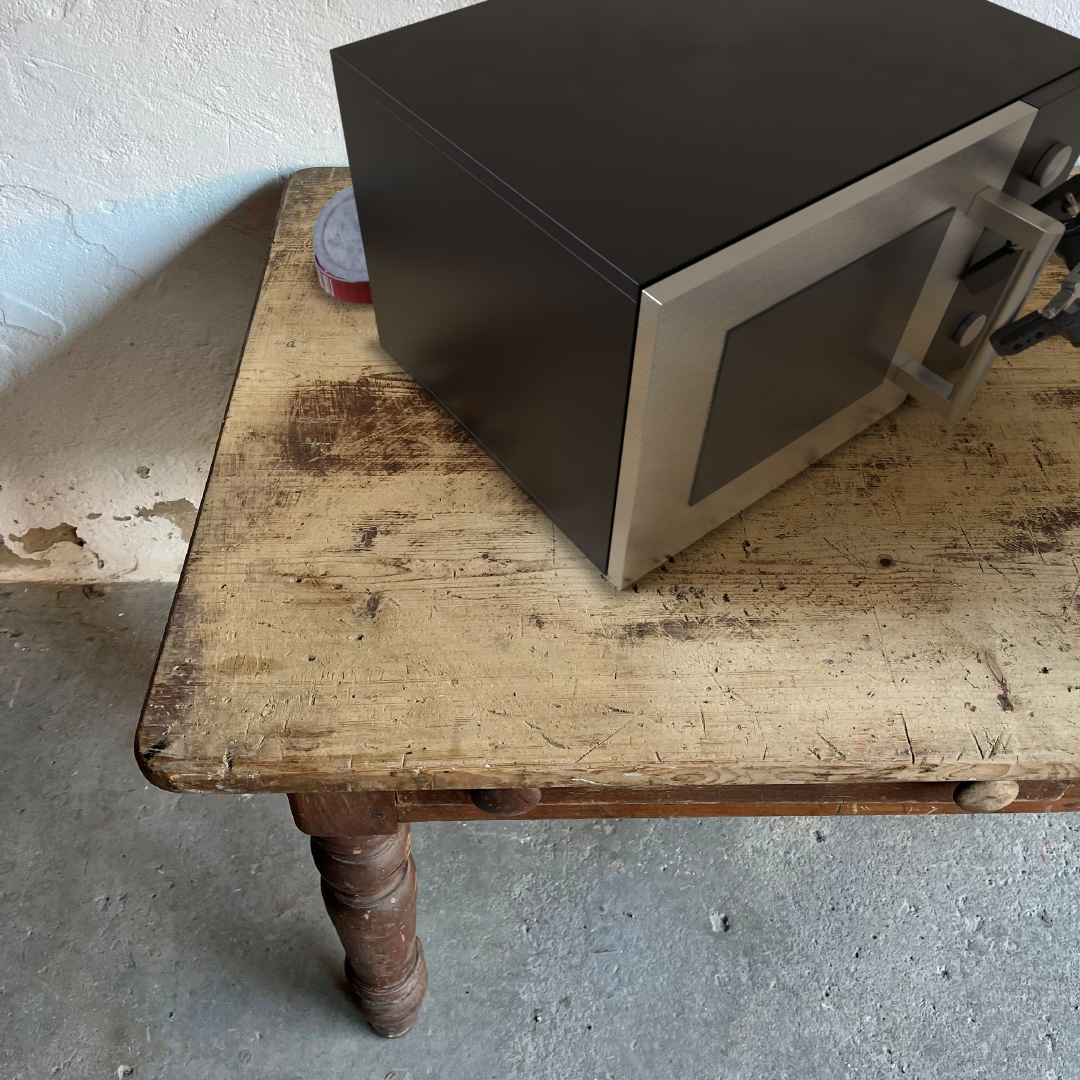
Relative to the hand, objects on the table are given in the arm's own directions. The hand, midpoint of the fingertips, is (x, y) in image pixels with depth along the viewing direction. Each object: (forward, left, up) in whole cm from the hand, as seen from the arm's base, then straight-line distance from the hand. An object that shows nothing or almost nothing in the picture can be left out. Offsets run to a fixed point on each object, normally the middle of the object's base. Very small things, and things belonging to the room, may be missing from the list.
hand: (980, 316), depth 70 cm
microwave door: (+9, +13, -13) cm, 20 cm away
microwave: (+23, -2, -13) cm, 27 cm away
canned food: (+57, -1, -14) cm, 59 cm away
